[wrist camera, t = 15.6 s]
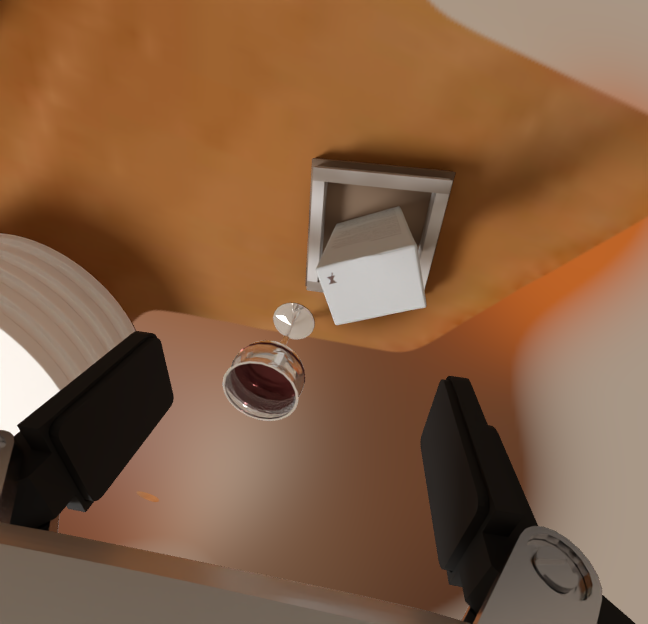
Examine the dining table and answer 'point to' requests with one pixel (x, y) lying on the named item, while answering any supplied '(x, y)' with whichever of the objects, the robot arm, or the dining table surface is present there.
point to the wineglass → (270, 369)
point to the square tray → (375, 204)
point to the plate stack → (48, 325)
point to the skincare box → (371, 268)
